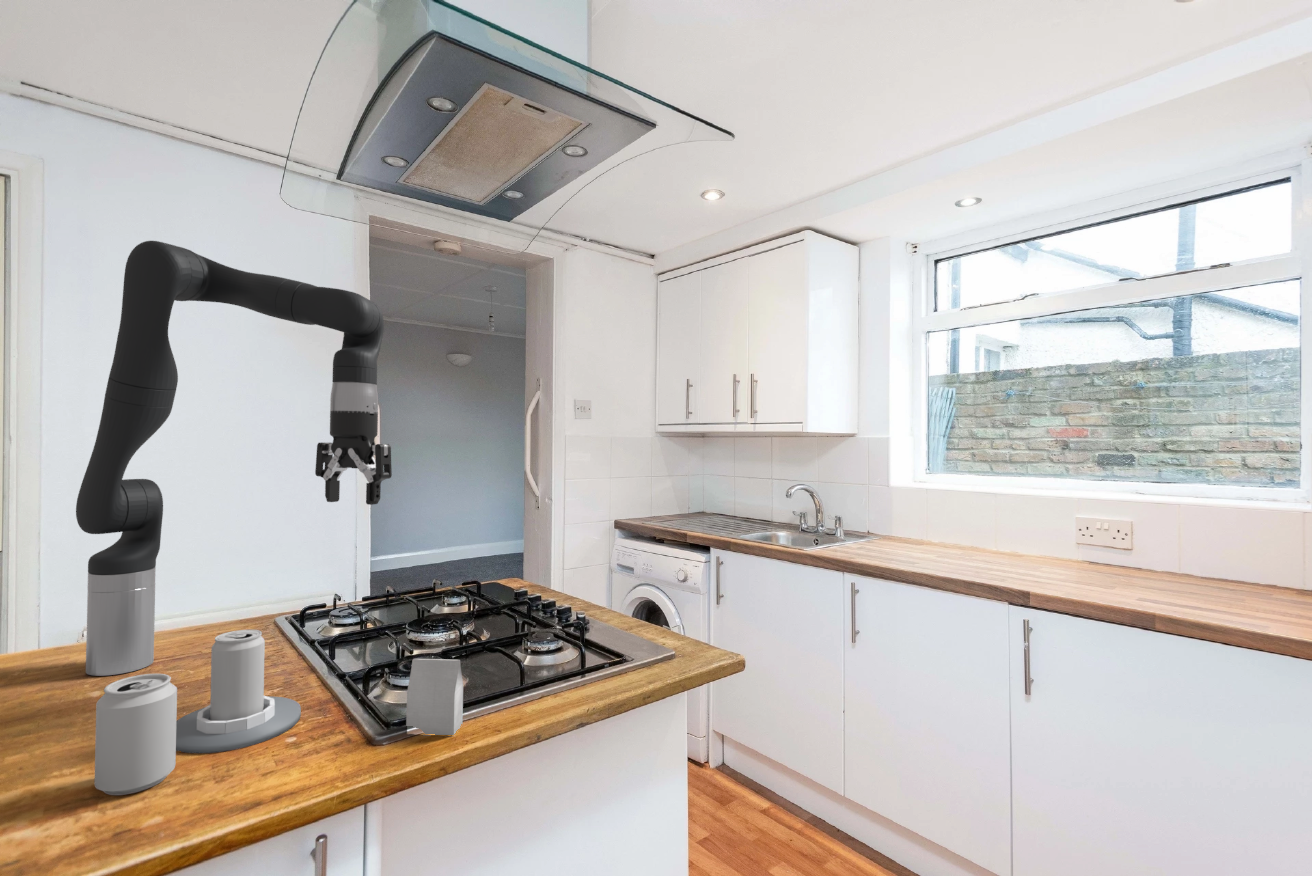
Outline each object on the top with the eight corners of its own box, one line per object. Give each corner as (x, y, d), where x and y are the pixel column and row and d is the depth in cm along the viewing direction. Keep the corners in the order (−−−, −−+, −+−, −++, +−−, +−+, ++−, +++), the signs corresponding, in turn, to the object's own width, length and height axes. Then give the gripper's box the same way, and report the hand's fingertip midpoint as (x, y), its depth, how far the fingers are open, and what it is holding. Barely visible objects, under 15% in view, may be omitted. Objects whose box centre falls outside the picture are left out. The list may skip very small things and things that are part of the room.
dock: (172, 716, 93) (173, 699, 93) (297, 695, 102) (298, 679, 102) (158, 764, 80) (159, 744, 80) (304, 735, 88) (304, 717, 88)
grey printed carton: (453, 736, 89) (455, 664, 89) (406, 734, 89) (407, 663, 89) (462, 724, 93) (463, 655, 93) (416, 723, 93) (418, 654, 93)
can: (126, 766, 79) (128, 670, 79) (189, 764, 80) (191, 669, 80) (76, 800, 72) (79, 694, 72) (146, 798, 72) (149, 693, 73)
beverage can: (236, 730, 87) (238, 642, 87) (198, 725, 88) (200, 639, 89) (273, 711, 93) (275, 629, 93) (237, 707, 95) (239, 626, 95)
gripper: (304, 408, 109) (302, 503, 109) (372, 408, 105) (369, 507, 105) (338, 410, 116) (336, 499, 116) (403, 411, 112) (401, 503, 112)
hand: (352, 503), depth 110 cm, fingers open, 8 cm apart
